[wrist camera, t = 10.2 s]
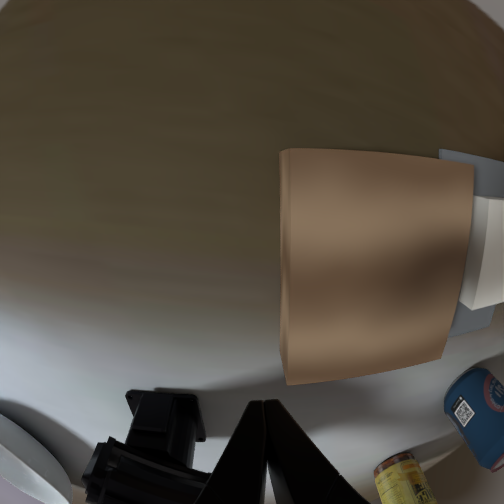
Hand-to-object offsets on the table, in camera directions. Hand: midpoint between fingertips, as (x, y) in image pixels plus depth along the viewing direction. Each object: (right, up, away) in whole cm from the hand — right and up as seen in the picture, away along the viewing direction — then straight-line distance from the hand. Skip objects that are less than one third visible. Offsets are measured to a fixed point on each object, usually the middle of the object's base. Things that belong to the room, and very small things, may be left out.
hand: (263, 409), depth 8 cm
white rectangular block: (+20, +4, +9) cm, 23 cm away
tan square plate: (+7, +4, +12) cm, 14 cm away
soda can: (+24, -11, +17) cm, 31 cm away
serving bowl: (-35, -24, +19) cm, 46 cm away
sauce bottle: (+18, -24, +20) cm, 36 cm away
